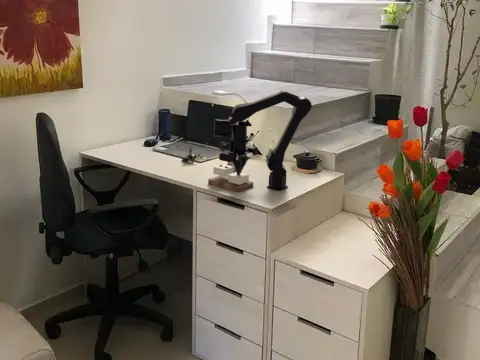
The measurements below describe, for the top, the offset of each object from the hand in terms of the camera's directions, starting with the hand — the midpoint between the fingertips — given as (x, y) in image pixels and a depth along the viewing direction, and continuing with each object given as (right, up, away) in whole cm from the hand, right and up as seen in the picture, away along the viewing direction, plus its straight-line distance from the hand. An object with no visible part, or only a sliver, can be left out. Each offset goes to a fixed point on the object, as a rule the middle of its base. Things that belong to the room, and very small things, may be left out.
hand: (238, 174), depth 235 cm
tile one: (0, -3, +1) cm, 3 cm away
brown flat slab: (-3, -5, +4) cm, 7 cm away
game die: (-2, 0, +21) cm, 21 cm away
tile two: (-6, 0, +5) cm, 8 cm away
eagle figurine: (-23, +6, +38) cm, 45 cm away
